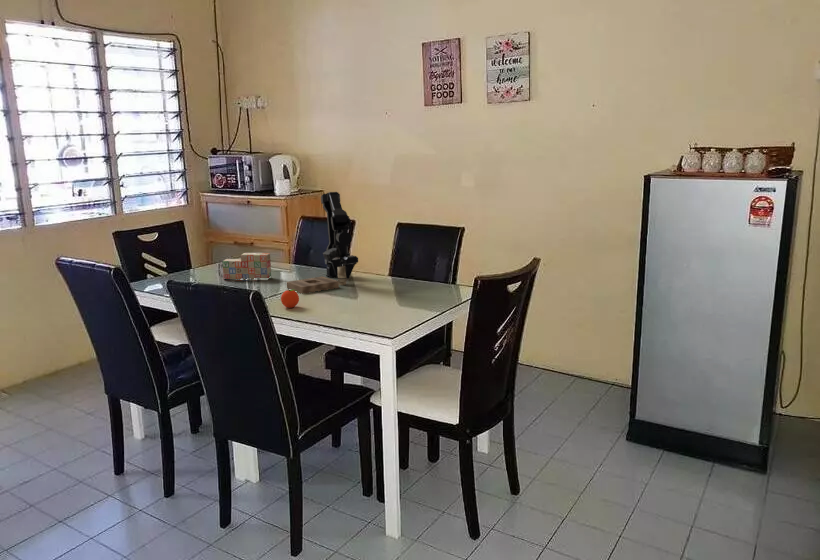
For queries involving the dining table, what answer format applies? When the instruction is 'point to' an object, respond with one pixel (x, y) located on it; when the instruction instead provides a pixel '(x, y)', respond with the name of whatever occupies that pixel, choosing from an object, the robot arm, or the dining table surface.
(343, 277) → the peg
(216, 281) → the dining table surface
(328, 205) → the robot arm
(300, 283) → the board
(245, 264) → the stack of blocks
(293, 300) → the clementine
